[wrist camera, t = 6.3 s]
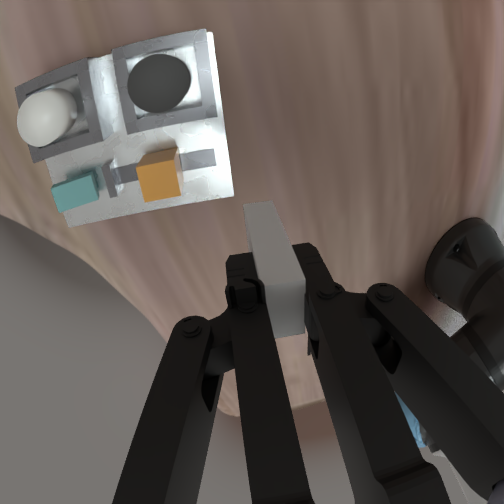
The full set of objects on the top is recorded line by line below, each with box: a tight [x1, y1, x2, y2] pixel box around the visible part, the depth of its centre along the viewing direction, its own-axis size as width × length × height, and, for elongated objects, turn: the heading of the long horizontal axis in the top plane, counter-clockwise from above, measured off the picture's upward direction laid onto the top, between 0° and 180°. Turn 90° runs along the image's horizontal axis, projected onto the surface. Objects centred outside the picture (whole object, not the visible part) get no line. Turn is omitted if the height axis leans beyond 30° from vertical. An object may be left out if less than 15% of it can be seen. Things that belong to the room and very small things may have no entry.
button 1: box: [17, 88, 77, 147], centre depth 18 cm, size 4×4×3 cm
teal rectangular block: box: [51, 171, 100, 213], centre depth 25 cm, size 2×4×1 cm, turn 96°
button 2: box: [127, 54, 191, 113], centre depth 19 cm, size 4×4×3 cm
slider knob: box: [136, 148, 184, 202], centre depth 25 cm, size 3×3×4 cm
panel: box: [15, 29, 234, 228], centre depth 25 cm, size 15×17×7 cm
